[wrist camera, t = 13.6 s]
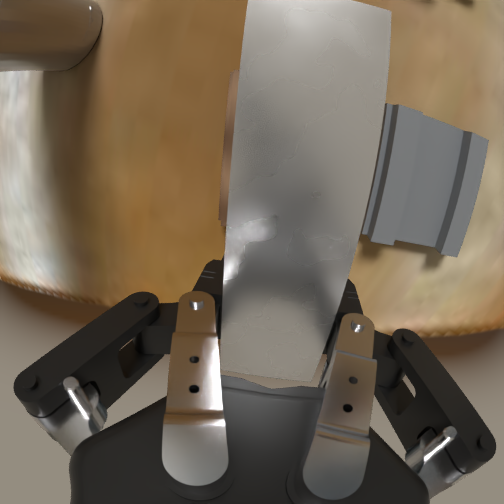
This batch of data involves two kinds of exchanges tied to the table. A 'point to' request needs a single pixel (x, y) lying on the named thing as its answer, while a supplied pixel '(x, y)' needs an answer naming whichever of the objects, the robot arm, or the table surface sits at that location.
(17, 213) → the table surface
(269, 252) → the block
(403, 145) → the grey channel bracket
